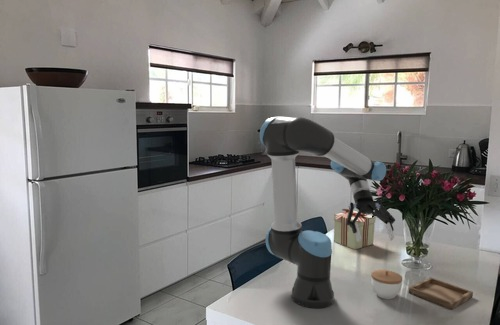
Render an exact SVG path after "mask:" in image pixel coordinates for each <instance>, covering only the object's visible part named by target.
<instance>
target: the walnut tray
mask: <svg viewBox="0 0 500 325" xmlns="http://www.w3.org/2000/svg"><path fill="white" fill-rule="evenodd" d="M408 294H411V295H413V296H416V297H418V298H421V299H423V300H426V301H428V302H430V303H433V304H436V305H439V306H441V307H444V308H445V309H448V310H451V311H452V310H455V309H456V308H458V307H459V306H461V305H463V304H464V303H466V302H467V301H469V300H472V299H473V294H474V291H471V290H468V289H466V288H463V287H460V286H458V285H454V284H451V283H448V282H445V281H443V280H440V279H437V278H434V277H429V278H428V277H427V278H426V279H425V280H422V281H420V282H418V283H416V284H413V285H411V286H409V287H408Z"/></svg>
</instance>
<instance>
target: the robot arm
mask: <svg viewBox="0 0 500 325" xmlns="http://www.w3.org/2000/svg"><path fill="white" fill-rule="evenodd" d="M259 140H260V143H261V144H262V146H263V147H265V148H266V155H267V157H269V159H271V173H272V174H271V175H272V177H271V178H272V191H273V192H272V194H273V195H272V196H273V197H272V198H273V215H274V221H273V222H272V223H271V224H270V227H269V228H268V230H267V234H266V235H265V245H266V249H267V250H268V252H269V253H270V254H271V255H273V256H275V257H276V258H278V259H281V260H284V261H287V262H289V263H290V264H291V263H292V264H293V265H296V266H297V269H296V271H297V272H296V278H295V281H294V283H293V285H292V289H291V299H292V301H293V302H294V303H296V304H298V305H300V306H302V307H305V308H312V309H323V308H326V307H330V306H332V305H333V304H334V302H335V292H334V290H333V286H332V282H331V269H332V268H331V267H332V254H333V248H332V241H331V238H330V237H329V236H328V235H326V234H324V233H323V232H320V231H317V230H316V231H314V230H304V231H303V226H302V222H300V220H298V203H297V202H298V201H297V178H296V175H297V174H296V172H297V171H296V157H297V156H298V155H300V152H303V153H304V152H305V153H310V154H313V155H315V156H318V157H323V156H324V157H325V158H327V159H329V160H330V168H331V169H332V170H333V171H334V172H335V173H336V174H338V175H339V176H341V177H343V178H345V179H346V180H347V181H348V183H349V187H350V190H351V193H352V194H351V195H352V196H353V201H354V202H349V205H348V209H349V213H348V216H347V220H346V225H350V227H351V228H352V231H353V233H355V235H356V238H357V242H359V241H360V240H361V239H362V238H361V235H360V231H359V228H358V224H355V222H356V221H357V219H358V217H359V216H360V214H361V213H363V214H369V215H371V214H372V216H374V217H376V218H378V220H380V221H382V223H384V224H385V229H386V233H387V235H388V238H389V241H393V240H394V239H395V235H394V226H393V224H395V222H396V219H395V217H394V216H393V215H392V213H390V212H389V211H388V210H387V209H386V207H385V206H384V205H383V203H382V201H379V202H377V203H375V201H374V197H373V194H372V192H371V187H370V185H369V181H373V182H374V181H377V182H380V181H383V180H384V178H385V177H386V174H387V167H386V164H385V163H384V162H381V161H378V160H376V161H375V160H373V159H371V158H369V157H368V156H366V155H364V154H363V153H361V152H359V151H357V150H356V149H355V148H353V147H351V146H349V145H347V144H346V142H345V143H344V141H342V140H340V139H338V138H336V136H335V135H334V133H333V132H332V131H331V130H329V129H328V128H326V127H325V126H323V125H321V124H319V123H318V122H316V121H314V120H312V119H309V118H307V117H298V116H297V117H296V116H293V117H292V116H282V115H281V116H273V117H270V118H269V117H268V118H267V119H266V120H265V121H264V123H263V124H262V125H261V127H260V131H259ZM368 180H369V181H368ZM362 193H363V194H362ZM355 209H357V210H358V211H357V212H358V213H357V215H356V216H355V218H354V219H353V221H351V217H352V213H353V211H354V210H355Z"/></svg>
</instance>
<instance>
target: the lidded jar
mask: <svg viewBox="0 0 500 325" xmlns="http://www.w3.org/2000/svg"><path fill="white" fill-rule="evenodd" d="M402 282H403V276H402V275H401V274H400V273H397V272H396V271H392V270H389V269H377V270H373V271H372V272H371V288H372V290H373V291H374V293H375V294H376V296H378V298H380V299H384V300H392V299H394V298H395V297H396V296H397V295H399V293H400V292H401V288H402Z"/></svg>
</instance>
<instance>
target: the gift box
mask: <svg viewBox="0 0 500 325" xmlns="http://www.w3.org/2000/svg"><path fill="white" fill-rule="evenodd" d="M341 211H344V212H340V213H334V215H333V221H334V228H333V242H334V243H336V244H338V245H341V246H344V247H347V248H350V249H352V250H358V249H362V248H365V247H369V246H372V245H374V237H375V223H376V218H377V217H376V216H374V217H373V218H372V216H373V215H371V214H363V213H361V214H360V216H359V217H358V219H357V221H356V222H355V224H358V228H359V231H360V235H361V238H362V239H361V240H360V241H359V242H357V238H356V235H355V233H353V231H352V228H351V227H350V225H346V220H347V216H348V213H349V208H348V209H347V208H342V210H341ZM357 213H358V211H357V210H353V213H352V217H351V221H353V219H354V218H355V216H356V215H357Z"/></svg>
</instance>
